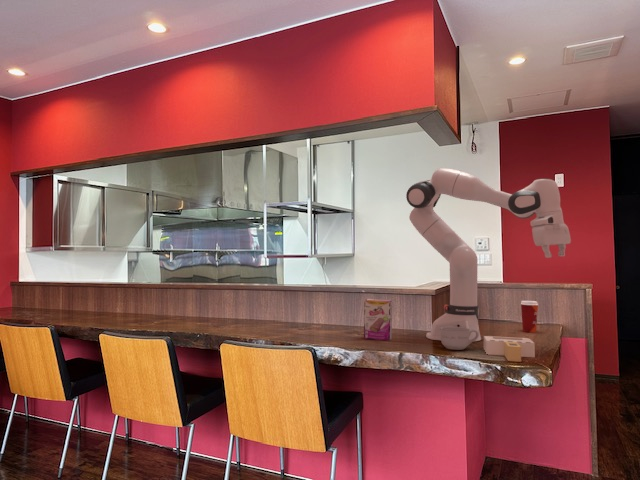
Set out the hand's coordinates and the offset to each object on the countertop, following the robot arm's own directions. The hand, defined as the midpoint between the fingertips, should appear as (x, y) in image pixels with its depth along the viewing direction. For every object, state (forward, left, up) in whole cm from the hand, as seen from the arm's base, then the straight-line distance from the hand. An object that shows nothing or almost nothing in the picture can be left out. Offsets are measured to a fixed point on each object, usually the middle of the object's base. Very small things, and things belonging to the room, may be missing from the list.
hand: (555, 257), depth 168 cm
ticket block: (-18, -8, -35) cm, 40 cm away
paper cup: (-1, +41, -36) cm, 55 cm away
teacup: (-35, -6, -36) cm, 50 cm away
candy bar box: (-67, +4, -36) cm, 76 cm away
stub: (-18, -17, -35) cm, 43 cm away
